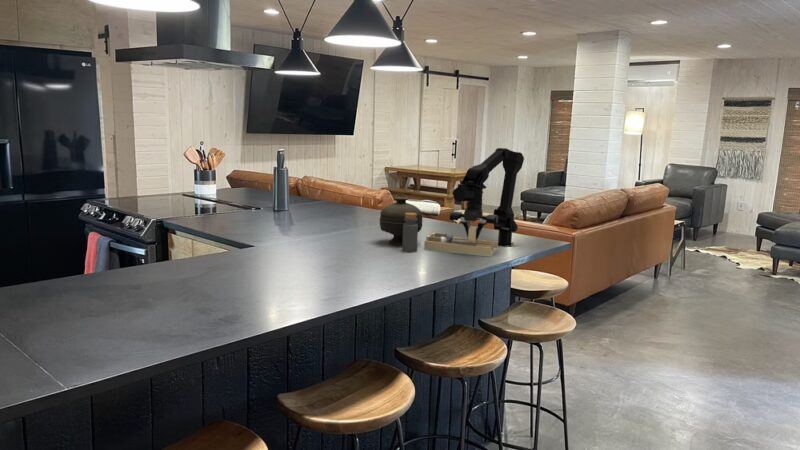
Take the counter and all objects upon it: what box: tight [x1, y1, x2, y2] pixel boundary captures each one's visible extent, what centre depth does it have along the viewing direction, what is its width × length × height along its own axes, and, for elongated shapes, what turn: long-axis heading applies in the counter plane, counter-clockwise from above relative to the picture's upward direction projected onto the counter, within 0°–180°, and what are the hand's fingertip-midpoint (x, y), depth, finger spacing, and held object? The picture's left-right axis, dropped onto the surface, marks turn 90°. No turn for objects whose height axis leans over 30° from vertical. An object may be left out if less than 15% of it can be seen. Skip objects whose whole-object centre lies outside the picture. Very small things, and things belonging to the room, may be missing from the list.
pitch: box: [423, 236, 499, 258], centre depth 235 cm, size 14×27×4 cm, turn 70°
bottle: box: [401, 213, 419, 253], centre depth 229 cm, size 6×6×15 cm
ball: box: [440, 237, 447, 243], centre depth 238 cm, size 4×4×4 cm
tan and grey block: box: [447, 225, 479, 246], centre depth 234 cm, size 5×12×8 cm, turn 70°
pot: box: [379, 196, 423, 247], centre depth 241 cm, size 18×18×20 cm
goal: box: [425, 232, 448, 242], centre depth 238 cm, size 10×6×4 cm, turn 160°
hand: (472, 238), depth 233 cm, fingers closed on tan and grey block, 3 cm apart
